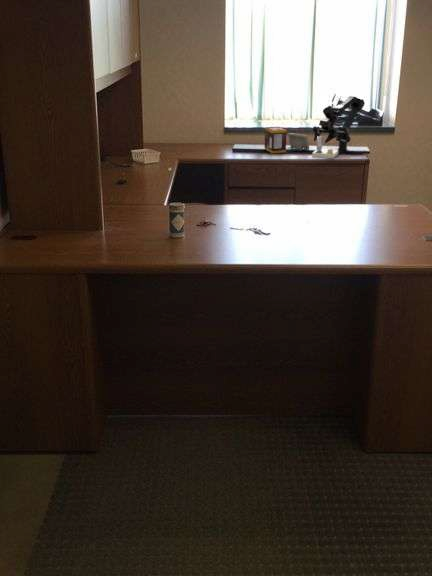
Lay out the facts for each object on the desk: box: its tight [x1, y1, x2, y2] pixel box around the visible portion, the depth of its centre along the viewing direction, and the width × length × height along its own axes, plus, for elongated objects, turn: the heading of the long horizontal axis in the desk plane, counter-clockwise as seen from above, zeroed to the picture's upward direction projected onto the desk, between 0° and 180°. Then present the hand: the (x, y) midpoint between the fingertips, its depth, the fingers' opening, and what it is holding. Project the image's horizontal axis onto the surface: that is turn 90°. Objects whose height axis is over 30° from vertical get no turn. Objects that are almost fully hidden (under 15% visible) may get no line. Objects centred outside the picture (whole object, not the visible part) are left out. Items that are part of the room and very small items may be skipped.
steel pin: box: [316, 135, 324, 153], centre depth 427 cm, size 4×4×13 cm
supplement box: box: [264, 126, 287, 154], centre depth 442 cm, size 10×15×16 cm
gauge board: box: [311, 148, 339, 159], centre depth 431 cm, size 16×14×5 cm
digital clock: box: [288, 132, 310, 150], centre depth 450 cm, size 16×9×11 cm, turn 38°
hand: (319, 141), depth 426 cm, fingers open, 9 cm apart
